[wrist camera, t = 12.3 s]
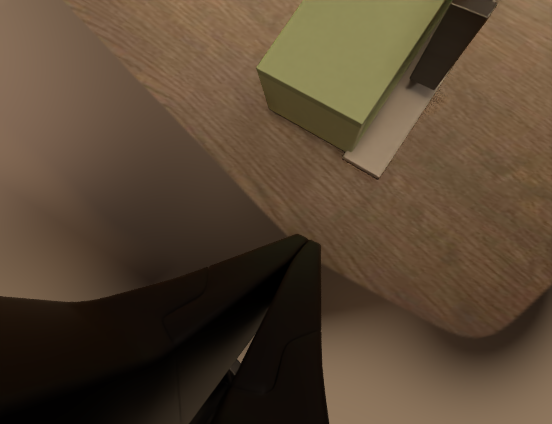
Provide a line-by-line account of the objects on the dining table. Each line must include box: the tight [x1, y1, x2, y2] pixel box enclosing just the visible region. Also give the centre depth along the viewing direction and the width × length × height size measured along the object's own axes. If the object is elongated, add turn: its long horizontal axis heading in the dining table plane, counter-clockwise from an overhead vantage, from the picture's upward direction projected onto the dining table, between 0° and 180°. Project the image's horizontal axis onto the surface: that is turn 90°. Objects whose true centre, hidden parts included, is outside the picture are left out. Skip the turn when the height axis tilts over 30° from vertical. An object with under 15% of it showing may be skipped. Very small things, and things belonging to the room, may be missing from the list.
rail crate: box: [256, 0, 496, 179], centre depth 19 cm, size 18×11×5 cm, turn 146°
